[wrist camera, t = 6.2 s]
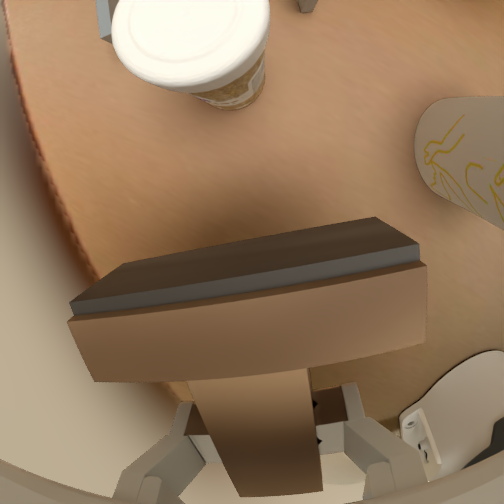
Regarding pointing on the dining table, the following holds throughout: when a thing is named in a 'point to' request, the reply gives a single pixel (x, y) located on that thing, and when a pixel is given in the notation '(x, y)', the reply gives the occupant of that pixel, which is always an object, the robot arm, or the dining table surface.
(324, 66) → the dining table surface
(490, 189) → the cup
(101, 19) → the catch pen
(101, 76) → the dining table surface
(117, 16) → the sprinkles bottle
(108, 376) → the scraper
